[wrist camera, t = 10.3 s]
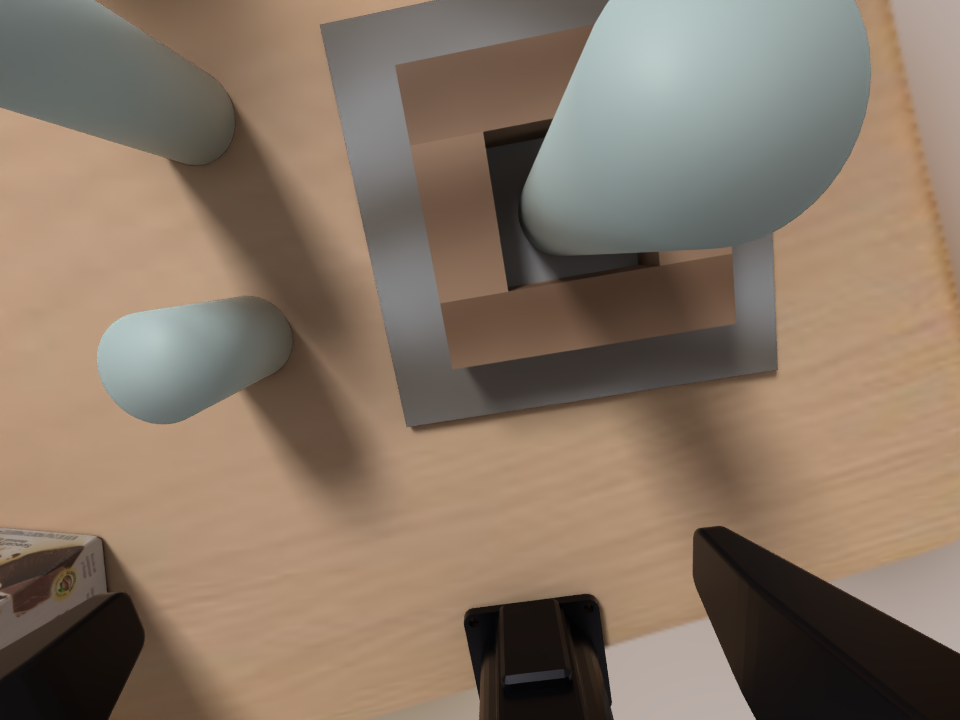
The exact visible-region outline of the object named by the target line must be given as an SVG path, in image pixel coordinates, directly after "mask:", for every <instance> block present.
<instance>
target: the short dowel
mask: <svg viewBox="0 0 960 720" xmlns="http://www.w3.org/2000/svg"><path fill="white" fill-rule="evenodd" d="M292 342H293V341H292V332H291V329H290V326H289V323H288V321H287V319H286V318H285V316H284V315H283V314H282V312H281V311H280V310H279V309H278V308H277V307H275V306H274V305H273V304H271V303H270V302H268V301H266V300H264V299H261V298H258V297H253V296H242V297H235V298H228V299H222V300H215V301H208V302H202V303H195V304H189V305H182V306H176V307H169V308H163V309H156V310H149V311H143V312H136V313H132V314H128V315H126V316H124V317H121V318H120V319H118V320H116V321H115V322H114V323H113V324H112V325H110V327H109V328H108V329H107V330H106V331H105V333H104V335H103V336H102V339H101V341H100V343H99V347H98V353H97V366H98V372H99V375H100V379H101V381H102V384H103V386H104V388H105V389H106V391H107V393H108V394H109V396H110V397H111V398H112V399H113V401H114V402H115V403H116V404H117V405H118V406H119V407H121V408H122V409H123V410H124V411H126V412H127V413H128V414H130V415H132V416H134V417H136V418H138V419H140V420H143V421H146V422H149V423H155V424H172V423H176V422H180V421H183V420H185V419H187V418H189V417H191V416H193V415H195V414H197V413H199V412H200V411H202V410H204V409H206V408H208V407H210V406H212V405H214V404H216V403H218V402H220V401H221V400H223V399H225V398H227V397H229V396H231V395H233V394H235V393H237V392H239V391H241V390H242V389H244V388H246V387H248V386H250V385H252V384H254V383H256V382H258V381H260V380H261V379H263V378H265V377H267V376H269V375H271V374H273V373H275V372H276V371H278V370H279V369H280V368H281V367H282V366H283V365H284V364H285V363H286V362H287V360H288V358H289V356H290V353H291V350H292Z"/></svg>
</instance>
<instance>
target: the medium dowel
mask: <svg viewBox="0 0 960 720" xmlns="http://www.w3.org/2000/svg"><path fill="white" fill-rule="evenodd" d="M0 107H1V108H4V109H7V110H11V111H14V112H17V113H20V114H24V115H27V116H30V117H34V118H37V119H40V120H43V121H47V122H50V123H53V124H56V125H60V126H63V127H66V128H70V129H73V130H76V131H79V132H83V133H86V134H89V135H93V136H96V137H99V138H102V139H106V140H109V141H112V142H115V143H119V144H122V145H125V146H129V147H132V148H135V149H138V150H142V151H145V152H148V153H152V154H155V155H158V156H161V157H165V158H168V159H171V160H174V161H178V162H181V163H184V164H189V165H203V164H207V163H210V162H212V161H214V160H216V159H217V158H219V157H220V156H221V155H222V154H223V153H224V152H225V151H226V150H227V148H228V147H229V145H230V143H231V141H232V138H233V135H234V130H235V114H234V109H233V105H232V102H231V100H230V98H229V96H228V94H227V92H226V91H225V89H224V88H223V86H222V85H221V84H220V83H219V82H218V81H217V80H216V79H215V78H214V77H212V76H211V75H210V74H208V73H207V72H205V71H203V70H202V69H200V68H199V67H197V66H196V65H194V64H193V63H191V62H189V61H188V60H186V59H185V58H183V57H182V56H180V55H179V54H177V53H176V52H174V51H172V50H171V49H169V48H168V47H166V46H165V45H163V44H162V43H160V42H159V41H157V40H155V39H154V38H152V37H151V36H149V35H148V34H146V33H145V32H143V31H142V30H140V29H138V28H137V27H135V26H134V25H132V24H131V23H129V22H128V21H126V20H124V19H123V18H121V17H120V16H118V15H117V14H115V13H114V12H112V11H111V10H109V9H107V8H106V7H104V6H103V5H101V4H100V3H98V2H97V1H95V0H0Z"/></svg>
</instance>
